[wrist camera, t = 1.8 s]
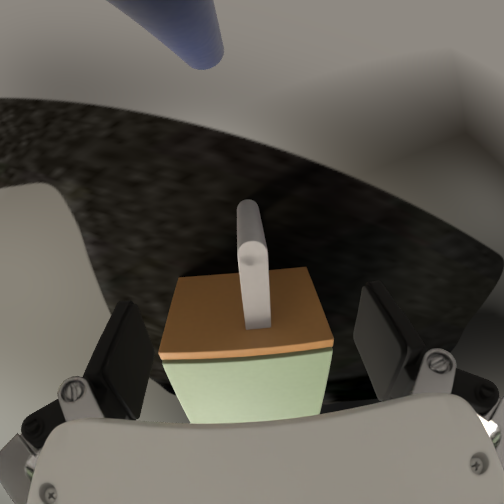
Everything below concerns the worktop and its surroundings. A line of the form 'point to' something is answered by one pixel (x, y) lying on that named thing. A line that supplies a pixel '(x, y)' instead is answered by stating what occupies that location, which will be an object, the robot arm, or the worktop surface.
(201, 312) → the door
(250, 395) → the cupboard
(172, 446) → the robot arm
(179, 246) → the worktop surface
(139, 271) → the worktop surface
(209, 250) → the worktop surface
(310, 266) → the worktop surface
